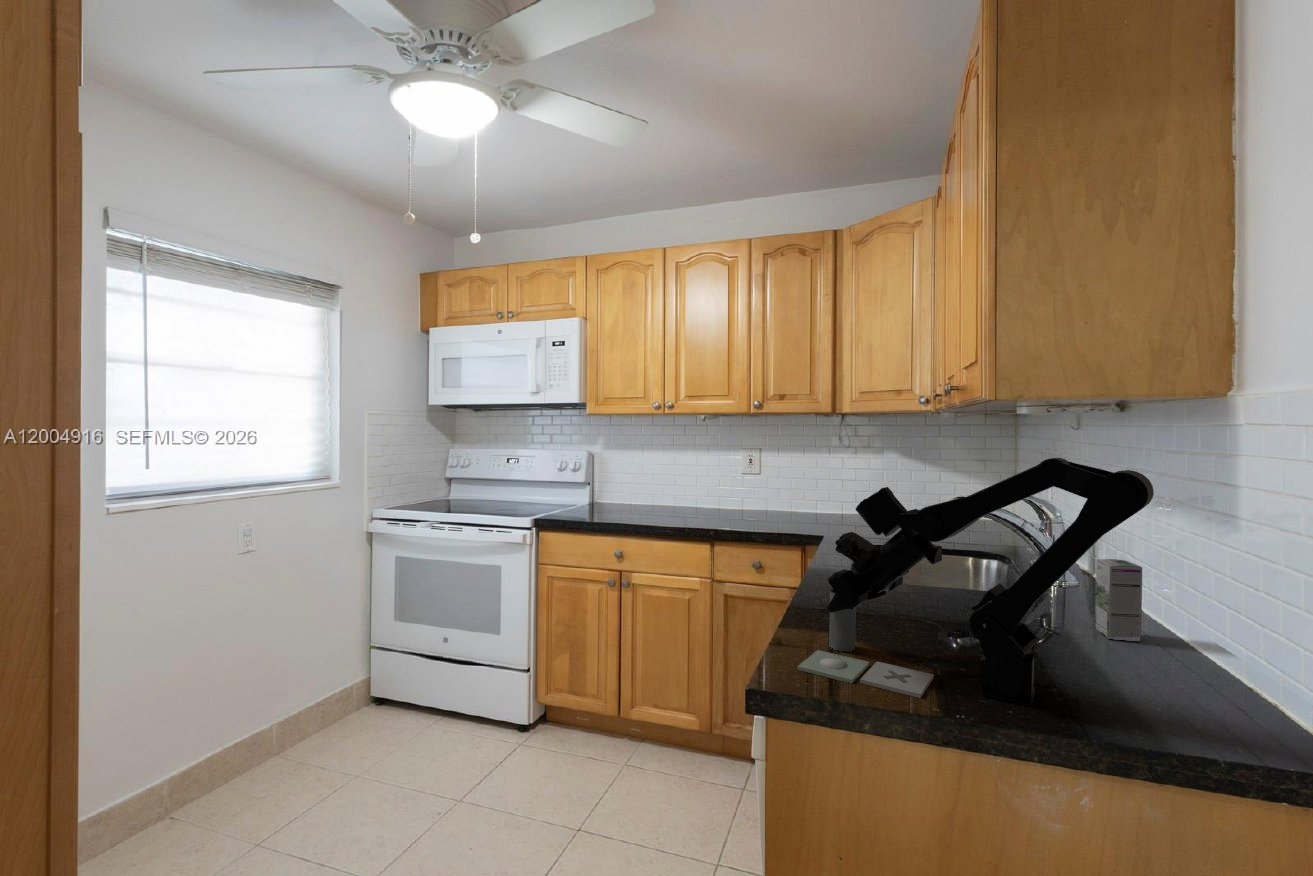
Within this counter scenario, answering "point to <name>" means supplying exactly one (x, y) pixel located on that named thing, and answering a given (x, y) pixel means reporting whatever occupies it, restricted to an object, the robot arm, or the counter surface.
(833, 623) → the grey cylinder
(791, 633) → the counter surface
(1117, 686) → the counter surface
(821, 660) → the pad
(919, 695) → the pad
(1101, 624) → the syrup box
